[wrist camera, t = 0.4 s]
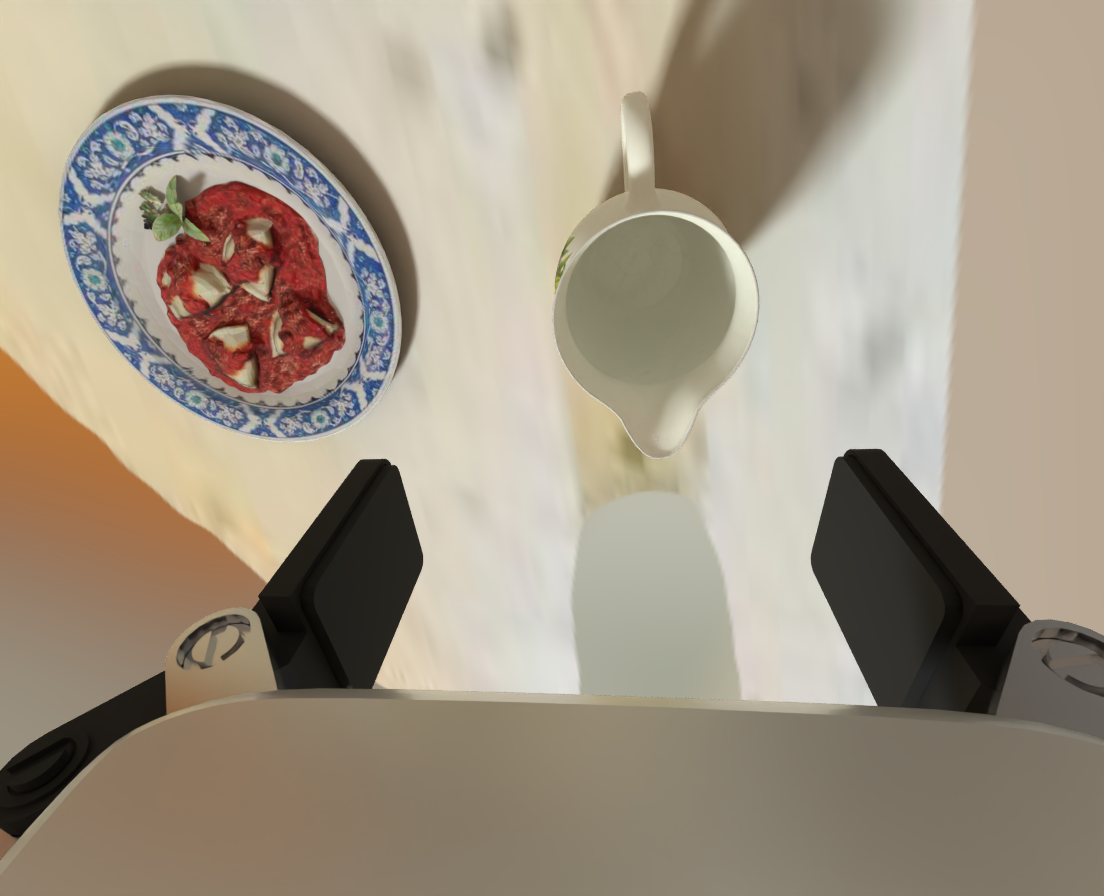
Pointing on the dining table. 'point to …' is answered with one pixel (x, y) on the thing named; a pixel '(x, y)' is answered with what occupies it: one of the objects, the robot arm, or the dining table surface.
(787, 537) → the dining table surface
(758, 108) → the dining table surface
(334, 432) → the ceramic plate
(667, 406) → the pitcher
